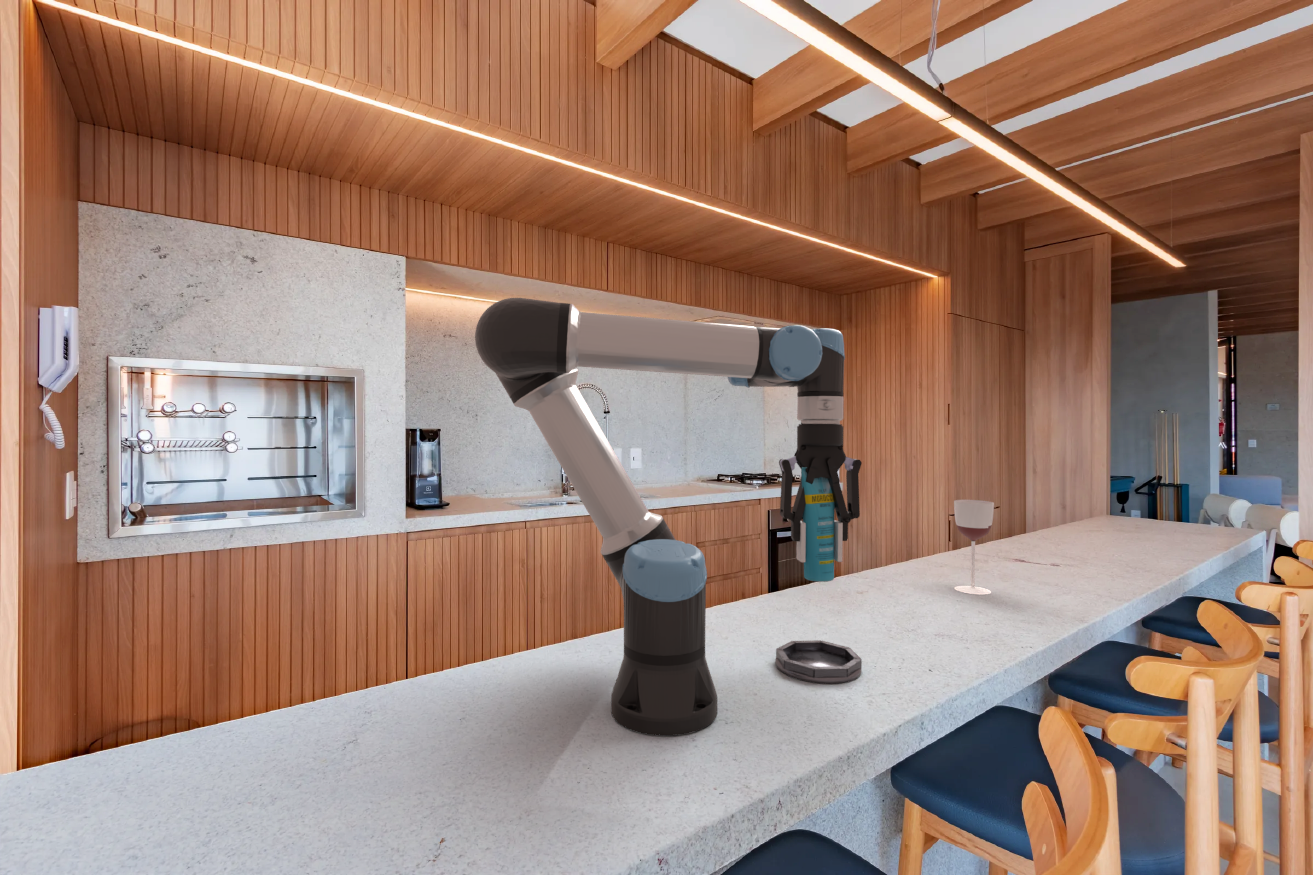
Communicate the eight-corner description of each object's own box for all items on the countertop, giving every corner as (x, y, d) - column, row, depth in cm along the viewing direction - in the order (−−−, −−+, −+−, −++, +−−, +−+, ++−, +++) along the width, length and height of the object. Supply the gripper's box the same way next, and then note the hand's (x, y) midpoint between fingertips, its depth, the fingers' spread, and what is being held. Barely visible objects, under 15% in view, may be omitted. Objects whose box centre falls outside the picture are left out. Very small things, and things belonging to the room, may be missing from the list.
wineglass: (960, 594, 151) (961, 503, 150) (948, 584, 160) (949, 499, 160) (998, 596, 149) (1000, 504, 149) (984, 585, 159) (985, 500, 158)
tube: (815, 585, 101) (813, 467, 101) (793, 579, 105) (791, 466, 105) (845, 578, 105) (844, 465, 105) (823, 573, 109) (821, 463, 109)
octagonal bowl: (787, 684, 98) (788, 670, 98) (767, 652, 112) (767, 640, 112) (875, 683, 99) (875, 669, 98) (843, 651, 112) (844, 638, 112)
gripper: (770, 422, 100) (769, 565, 101) (883, 422, 101) (882, 564, 102) (760, 422, 108) (759, 556, 108) (865, 422, 109) (864, 555, 109)
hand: (819, 560), depth 105 cm, fingers closed on tube, 5 cm apart
